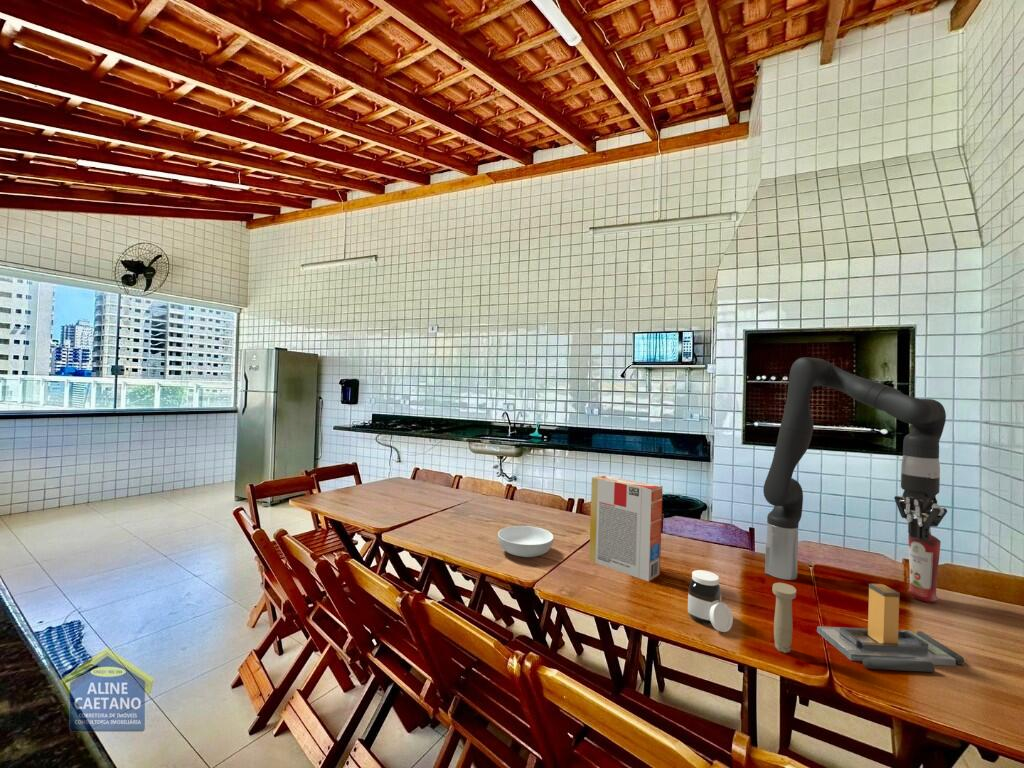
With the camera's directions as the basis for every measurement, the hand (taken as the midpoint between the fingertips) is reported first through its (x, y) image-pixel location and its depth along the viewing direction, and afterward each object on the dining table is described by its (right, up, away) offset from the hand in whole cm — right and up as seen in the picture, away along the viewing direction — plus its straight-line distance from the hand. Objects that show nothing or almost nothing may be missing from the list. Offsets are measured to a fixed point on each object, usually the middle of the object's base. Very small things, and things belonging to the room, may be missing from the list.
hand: (918, 538), depth 116 cm
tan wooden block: (-16, -23, -8) cm, 29 cm away
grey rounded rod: (-19, -24, -16) cm, 35 cm away
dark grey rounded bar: (-3, -25, -8) cm, 26 cm away
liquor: (+20, -26, +20) cm, 38 cm away
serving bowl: (-103, -22, +48) cm, 116 cm away
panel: (-16, -25, -8) cm, 30 cm away
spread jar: (-54, -24, +3) cm, 59 cm away
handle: (-42, -24, -10) cm, 49 cm away
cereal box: (-69, -23, +37) cm, 82 cm away
